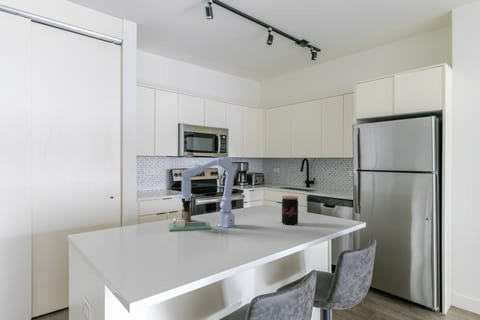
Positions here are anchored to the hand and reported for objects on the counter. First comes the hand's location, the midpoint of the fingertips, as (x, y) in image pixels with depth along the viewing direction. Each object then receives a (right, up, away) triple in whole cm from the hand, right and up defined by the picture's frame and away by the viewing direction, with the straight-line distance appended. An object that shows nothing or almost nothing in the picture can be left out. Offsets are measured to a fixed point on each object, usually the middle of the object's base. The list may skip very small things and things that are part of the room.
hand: (186, 210), depth 174 cm
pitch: (+2, -10, 0) cm, 10 cm away
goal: (-4, -9, -1) cm, 10 cm away
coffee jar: (+67, -11, +12) cm, 69 cm away
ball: (-4, -7, -1) cm, 8 cm away
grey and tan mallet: (0, -9, 0) cm, 9 cm away
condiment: (-2, -11, +16) cm, 20 cm away
